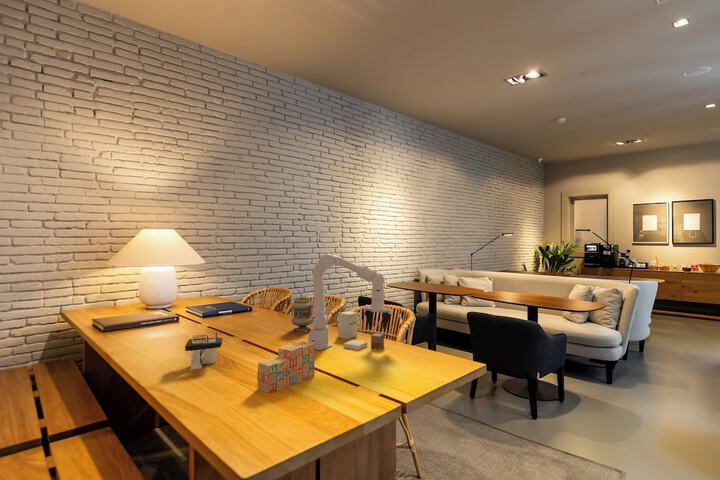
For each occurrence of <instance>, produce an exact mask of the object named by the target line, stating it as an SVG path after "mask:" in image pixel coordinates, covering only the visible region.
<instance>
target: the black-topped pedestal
mask: <svg viewBox="0 0 720 480" xmlns="http://www.w3.org/2000/svg"><path fill="white" fill-rule="evenodd" d="M222 345H223V338H222V337H218V331H216V333H215V334H214V337H209V336H208V334H204V335H202V334H201V335H198V336H197V335H191V338H190V339H188V340H187V342H186V343H185V345H184V351H185V352H190V371H194V370H200V369H202V368H203V365H205V364H206V365H207V364H217V348H219V349H220V348H221V347H222Z"/></svg>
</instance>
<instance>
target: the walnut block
mask: <svg viewBox="0 0 720 480" xmlns="http://www.w3.org/2000/svg"><path fill="white" fill-rule="evenodd" d="M371 348H372V349H375V348H376V350H380V348H381V349H383V348H385V334H384V333H383V334H382V333H377V332H375V333H372V334H371V335H370V349H371Z"/></svg>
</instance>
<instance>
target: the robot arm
mask: <svg viewBox="0 0 720 480" xmlns="http://www.w3.org/2000/svg"><path fill="white" fill-rule="evenodd" d="M333 265H334V267H342V268H345V269H347V270H350V271H352V272H354V273H356V276H357V277H358V278H360V279H362V280H364V281H366V282H369V283H372V285H371V286H372V287H371V306H363V312H364V316H365V318H366V321H367V324H368V327H369V328H372V327H373V323H374V322H373V320H374V319H373V318H374V314H375V313H379V314H381V313H382V314H381V317H382V330H386V329H387V327H388V324H389V320H390V318H391V316H392V314H393V309H392V308H388V307H387V308H386V307H385V289H384V287H385V285H384V284H385V277H384V276H383V274H381V273H380V272H378V271H377V270H373V269H371V268H369V266H368V265H360V266H359V265H356V264H355V263H353V262H351V261H349V260H347V259H345V258H343V257H341V256H339V255H334V254H332V253H325V254H324V255H323V254H322V256H321V257H319V258H318V260H317V262H316V264H315V266H314V267H313V269H312V283H313V286H312V287H313V299H314V312H313V313H314V316H313V322H312V325H313V327H312V328H311V331H309V332H308V340H307V341H308V343H312V344H315V350H317V351H321V350H324V349H327V348H330V347H332V346H333V345H332V344H329V326H328V325H327V323H328V321H329V316H328V314H327V311H326V310H327V309H326V305H325V304H326V303H325V289H324V288H325V287H324V273H325V272H326V271H327V270H328V269H329V268H331V267H333Z"/></svg>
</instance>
